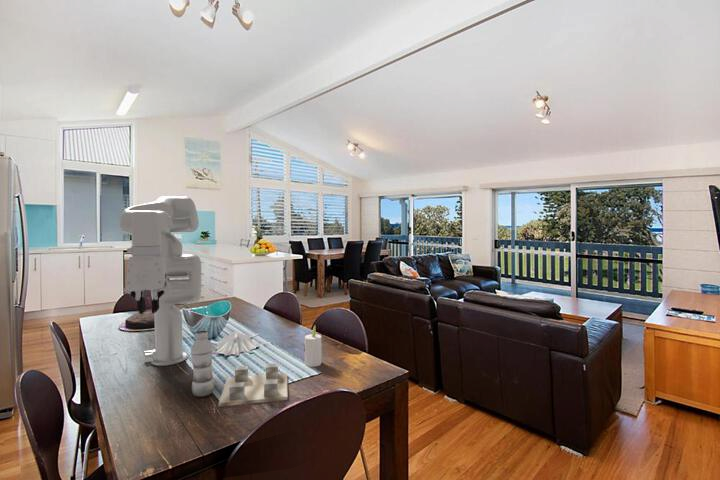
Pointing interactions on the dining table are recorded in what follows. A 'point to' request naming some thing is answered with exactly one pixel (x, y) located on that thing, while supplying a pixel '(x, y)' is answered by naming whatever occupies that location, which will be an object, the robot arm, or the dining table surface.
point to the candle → (312, 349)
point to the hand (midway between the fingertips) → (148, 311)
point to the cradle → (254, 387)
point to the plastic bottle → (202, 365)
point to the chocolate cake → (139, 322)
